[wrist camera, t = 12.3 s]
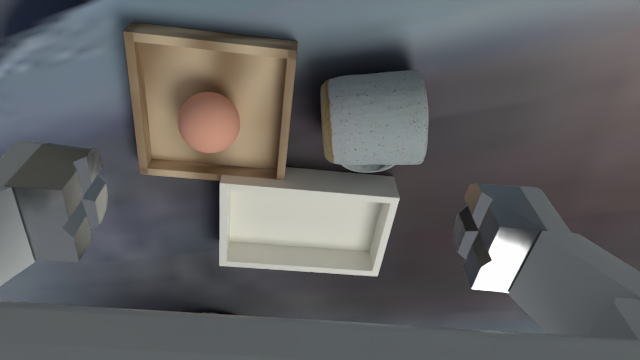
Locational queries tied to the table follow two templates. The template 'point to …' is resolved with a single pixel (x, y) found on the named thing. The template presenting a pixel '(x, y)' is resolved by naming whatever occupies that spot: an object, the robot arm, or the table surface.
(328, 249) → the white storage bin
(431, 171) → the table surface
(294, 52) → the tray
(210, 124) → the ball
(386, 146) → the ceramic mug
